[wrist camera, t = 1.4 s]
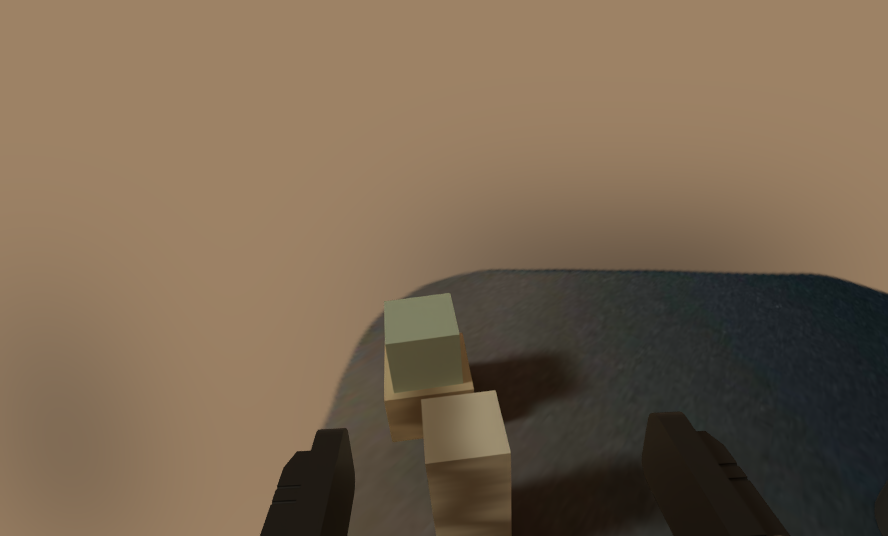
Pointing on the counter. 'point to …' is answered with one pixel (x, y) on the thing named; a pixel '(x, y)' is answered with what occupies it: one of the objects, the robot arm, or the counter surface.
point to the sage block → (422, 343)
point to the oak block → (418, 401)
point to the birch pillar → (467, 465)
